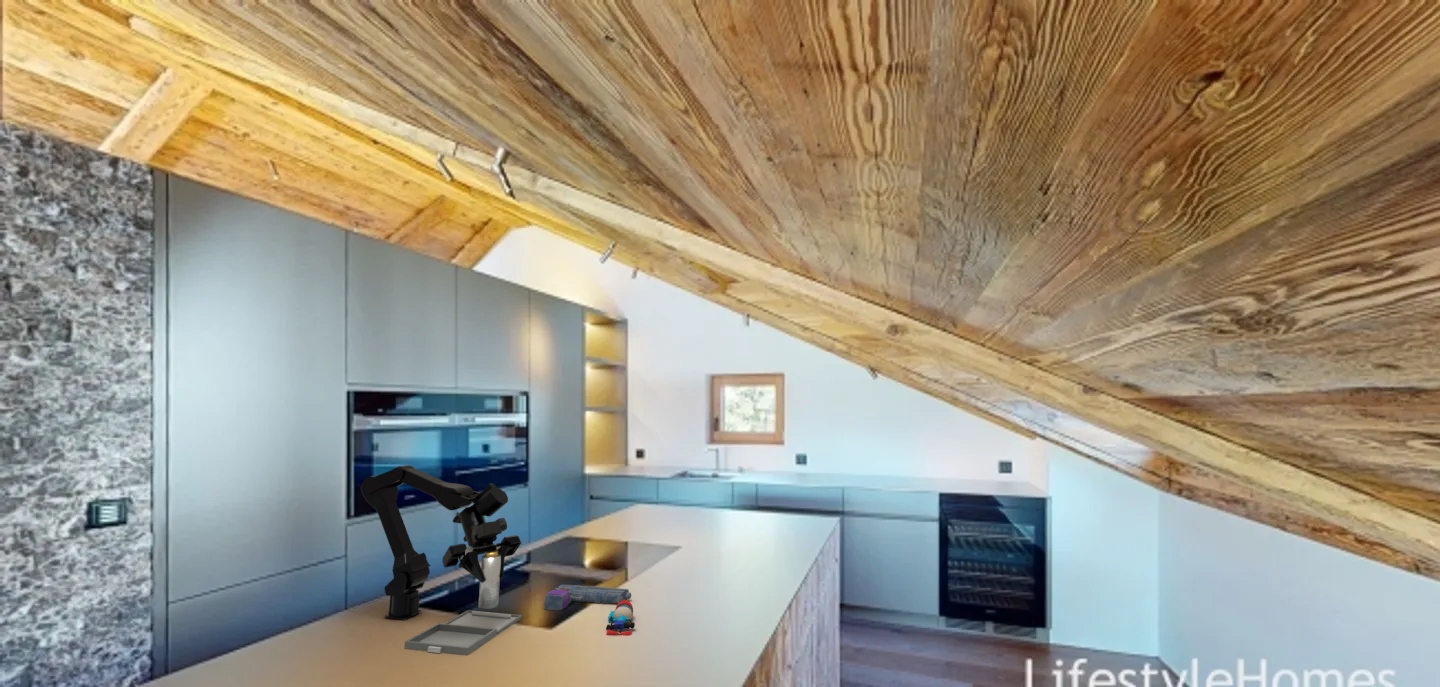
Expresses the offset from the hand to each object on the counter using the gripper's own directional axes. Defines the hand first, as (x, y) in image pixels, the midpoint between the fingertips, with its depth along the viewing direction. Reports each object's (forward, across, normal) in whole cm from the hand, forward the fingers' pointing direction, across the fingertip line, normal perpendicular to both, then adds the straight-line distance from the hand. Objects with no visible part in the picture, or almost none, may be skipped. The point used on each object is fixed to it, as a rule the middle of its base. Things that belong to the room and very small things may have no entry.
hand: (492, 579), depth 149 cm
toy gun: (+8, +31, +12) cm, 34 cm away
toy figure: (+22, +28, -2) cm, 35 cm away
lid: (+5, +1, +14) cm, 15 cm away
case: (+10, -9, +10) cm, 16 cm away
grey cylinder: (+4, 0, +6) cm, 7 cm away
